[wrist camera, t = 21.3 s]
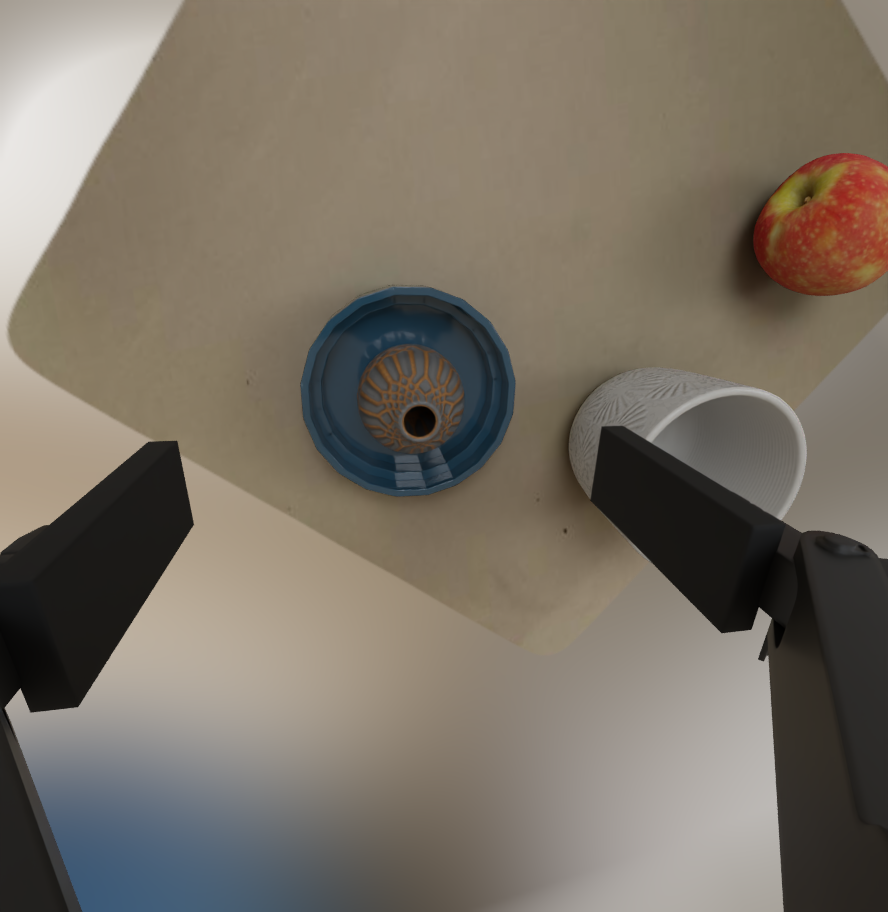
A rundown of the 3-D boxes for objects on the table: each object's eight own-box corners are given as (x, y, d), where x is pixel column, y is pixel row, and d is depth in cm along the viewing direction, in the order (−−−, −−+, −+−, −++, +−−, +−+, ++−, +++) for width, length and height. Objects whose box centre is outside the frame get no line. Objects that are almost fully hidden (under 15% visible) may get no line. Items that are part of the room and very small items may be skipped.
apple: (785, 146, 33) (906, 111, 26) (851, 221, 36) (978, 208, 28) (709, 251, 35) (802, 245, 27) (778, 314, 38) (879, 324, 30)
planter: (526, 413, 37) (588, 466, 27) (663, 323, 36) (779, 343, 26) (591, 524, 42) (663, 604, 32) (713, 447, 41) (827, 504, 31)
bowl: (299, 282, 31) (291, 284, 28) (505, 287, 33) (523, 289, 30) (315, 477, 36) (310, 501, 33) (493, 470, 38) (507, 491, 35)
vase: (402, 450, 36) (414, 501, 28) (336, 383, 33) (329, 419, 25) (471, 389, 35) (505, 425, 27) (410, 316, 32) (426, 331, 24)
